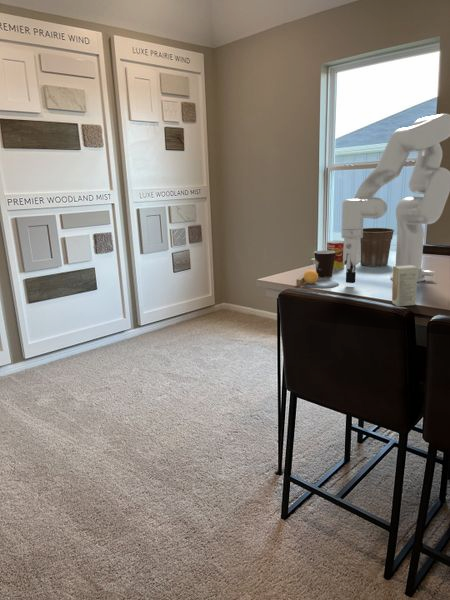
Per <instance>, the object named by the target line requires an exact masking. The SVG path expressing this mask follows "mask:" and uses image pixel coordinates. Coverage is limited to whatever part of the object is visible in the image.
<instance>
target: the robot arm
mask: <svg viewBox="0 0 450 600" xmlns="http://www.w3.org/2000/svg"><path fill="white" fill-rule="evenodd" d="M448 138H450V114H449V113H440V114H436V115H430V116H425V117H422V118H417V120H415V121H414V122H413V124H412V125H411V126H408V127H402V128H398V129H396V130H395V131H394V132H393V133H392V134H391V135H390V137H389V139H388V141H387V144H386V146H385V149H384V150H383V152H382V155H381V157H380V160H379V161H378V164H377V165H376V167H375V168H374V170H373V171H371V172H370V174H369V175H368V176H367V177H366V178H365V179H364V180H363V182H362V183H361V184H360V185H359V187H358V189H357V192H356V194H355V196H354V198H348V199H344V200H342V201H343V202H342V204H341V205H342V206H341V238H342V239H343V241H344V248H343V264H344V266H346V267H345V271H346V272H345V283H348V284H354V283H356V270H357V267H356V266H358V265H359V264H360V261H361V238H362V237H363V228H364V219H380V218H382V217H384V216H385V215H386V213H387V211H388V204H387V202H386V201H385V199H383V198H380V197H375V196H376V194H377V193H378V191H379V190H380V189H381V188H382V187H384V186H385V185H387V184H389V183H390V182H392V181H394V180H395V179H397V178H398V177H399V176H400V174H401V172H402V170H403V168H404V166H405V163H406V161H407V159H408V157H409V155H410V153H412V152H417V157H416V160H415V164H414V167H413V169H412V173H411V176H410V178H409V181H408V188H409V190H410V192H411V193H414V194H416V195H423V196H407V197H404V198H402V199H401V200H400V201H399V202H397V205H396V208H395V217H396V225H397V226H396V227H397V228H396V229H397V231H396V232H397V233H396V249H395V250H396V251H395V264H394V266H406V265H413V266H415V267H417V283H419V282H424V281H425V280H426V276H427V277H434V276H435V275H434V274H435V271H434V270H433V271H431V270H425V269H423V267H422V266H423V265H422V264H423V253H424V252H423V249H424V239H425V238H424V237H425V231H424V227H423V225H432V224H434V223H436V222H437V221H438V220H439V219H440V217H441V216H442V214H443V211H444V209H445V205H446V203H447V200H448V197H449V195H450V170H448V169H447V168H445V167H441V163H442V160H443V149H442V146H441V142H443V141H446V140H447V139H448ZM390 280H392V281H393V274H391V275H390Z"/></svg>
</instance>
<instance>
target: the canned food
mask: <svg viewBox="0 0 450 600" xmlns="http://www.w3.org/2000/svg"><path fill="white" fill-rule="evenodd" d="M343 248H344V240H329V241H326V251H335V258H334V265H333V269H340V270H344V269H345V265H344V264H343Z"/></svg>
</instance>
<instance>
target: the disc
mask: <svg viewBox="0 0 450 600" xmlns="http://www.w3.org/2000/svg"><path fill="white" fill-rule="evenodd" d="M304 286H305V287H307V288H311V289H312V288H313V289H331V288H337V287H339V286H340V283H339V282H337V281H332V280H324V279H323V280H321V279H320V280H319V279H318V280H317V282H316V283H314V284H308V283H306V282H305V283H304ZM336 286H337V287H336Z"/></svg>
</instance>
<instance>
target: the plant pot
mask: <svg viewBox="0 0 450 600" xmlns="http://www.w3.org/2000/svg"><path fill="white" fill-rule="evenodd" d="M394 232H395V229H393V228H387V227H365V228H364V227H363V237H362V238H361V261H360V263H359V264H360V265H362V266H365V267H370V268H371V267H373V268H375V267H383V266H384V267H387V266H388V264H389V258H390V249H391V244H392V240H393V236H394Z"/></svg>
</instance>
